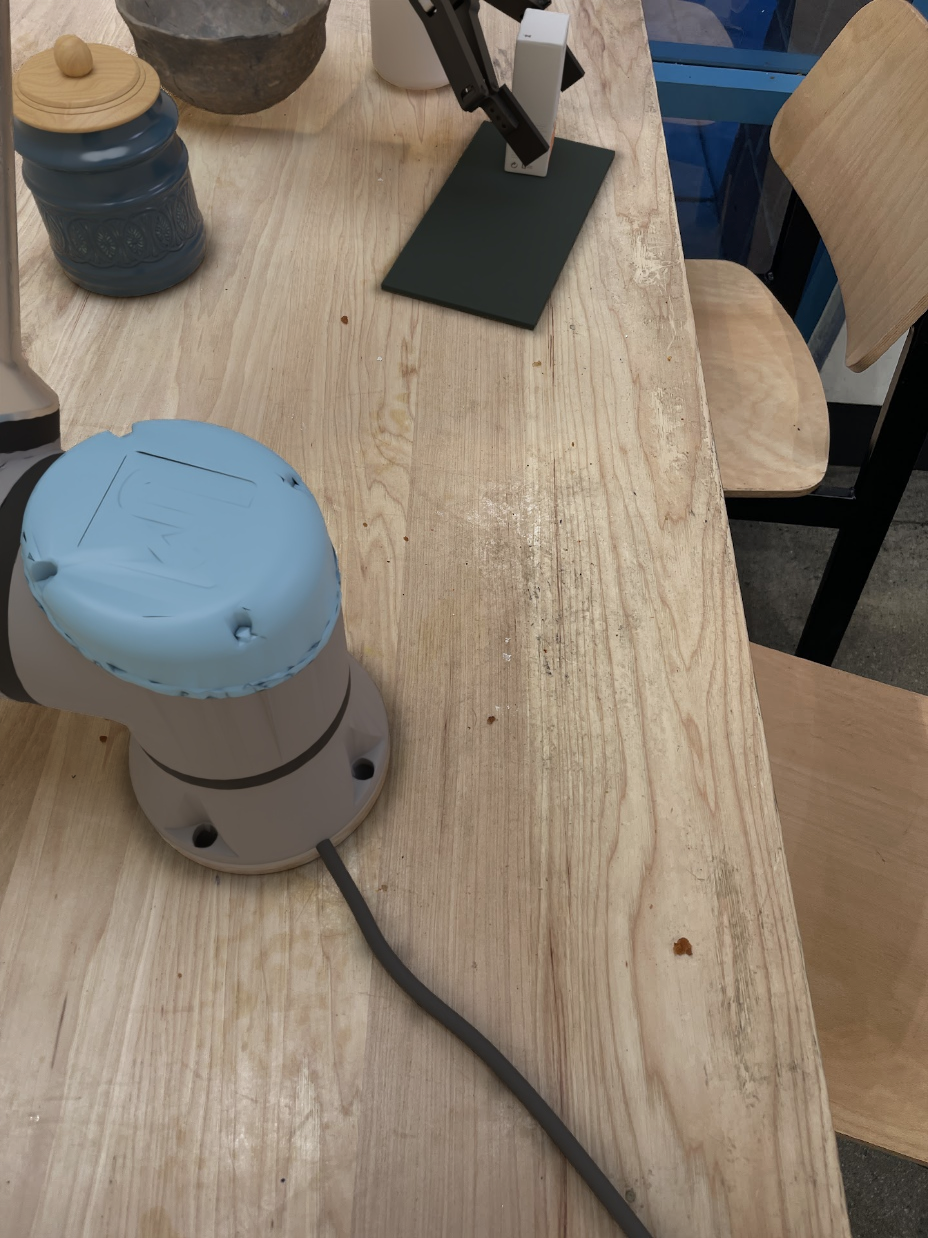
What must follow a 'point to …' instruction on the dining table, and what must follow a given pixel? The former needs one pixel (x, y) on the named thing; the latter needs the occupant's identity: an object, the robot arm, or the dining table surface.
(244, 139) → the dining table surface
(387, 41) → the cup
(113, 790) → the dining table surface
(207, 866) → the robot arm
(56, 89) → the canister
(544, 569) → the dining table surface
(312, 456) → the dining table surface
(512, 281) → the mat
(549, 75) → the cosmetic box
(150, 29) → the bowl
